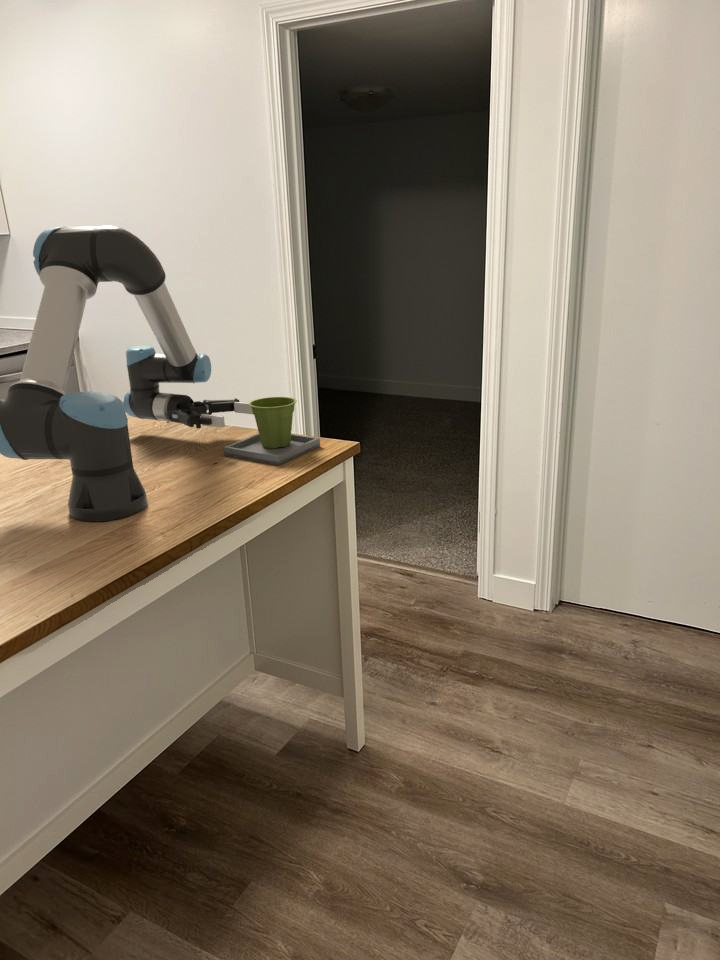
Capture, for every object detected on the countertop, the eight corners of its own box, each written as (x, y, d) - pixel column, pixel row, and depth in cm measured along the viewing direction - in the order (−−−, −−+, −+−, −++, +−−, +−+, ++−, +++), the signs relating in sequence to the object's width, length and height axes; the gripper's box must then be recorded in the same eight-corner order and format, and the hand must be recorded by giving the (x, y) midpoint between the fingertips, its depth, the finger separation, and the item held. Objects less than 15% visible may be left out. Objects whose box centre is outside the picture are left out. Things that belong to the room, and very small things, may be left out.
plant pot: (300, 437, 189) (297, 395, 185) (298, 451, 178) (295, 406, 174) (254, 439, 188) (251, 397, 185) (249, 452, 177) (246, 408, 173)
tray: (320, 446, 183) (319, 438, 183) (279, 465, 170) (278, 456, 169) (267, 438, 192) (267, 430, 191) (224, 455, 178) (223, 447, 178)
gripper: (205, 411, 203) (268, 417, 194) (143, 434, 182) (210, 443, 173) (203, 384, 200) (266, 390, 191) (139, 405, 180) (207, 412, 170)
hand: (240, 415), depth 182 cm, fingers open, 13 cm apart
